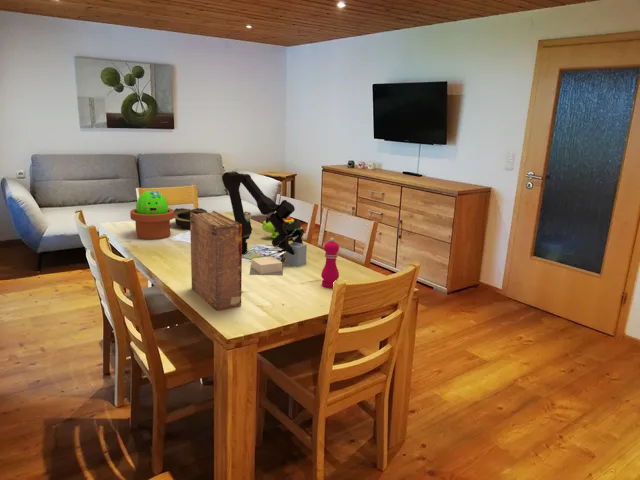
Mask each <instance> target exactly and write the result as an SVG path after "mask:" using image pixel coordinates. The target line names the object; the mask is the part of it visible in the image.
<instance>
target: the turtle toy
mask: <svg viewBox="0 0 640 480" xmlns="http://www.w3.org/2000/svg"><path fill="white" fill-rule="evenodd" d="M283 219H284V218H283ZM284 220H285V222H289V224H291V223H293V222H294V220H295V219H294V218H292V217H290V216H289V217H288V218H286V219H284ZM261 225H262V226H261V228H262V230H263V231H265V232H266V233H270V234H271V235H270V238H272V239H274V238H275V237H276V236H277V235H279V234H278V232H276V233H275V228H274V227H273V225H272V224H271V222H268V223H266V220H264V221H262V224H261ZM297 229H300V228H297ZM297 229H295V230H297ZM301 229H303V227H302V226H301ZM303 236H304V235H303ZM303 236H302V239H303ZM289 237H290V236H289Z"/></svg>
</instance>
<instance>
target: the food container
mask: <svg viewBox="0 0 640 480" xmlns="http://www.w3.org/2000/svg"><path fill="white" fill-rule="evenodd" d="M243 211H244V210H243ZM244 216H245V219H246V220H247V222H249V221H250V222H251V218H252V217H253V216H252V213H251V212H249V211H244Z"/></svg>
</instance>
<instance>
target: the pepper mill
mask: <svg viewBox="0 0 640 480" xmlns="http://www.w3.org/2000/svg"><path fill="white" fill-rule="evenodd" d="M323 250H324V252H325V253H324V258H325V265H324V267H323V269H321V270H322V271H321V276H320V277H321V278H322V281H321V286H322V287H324V288H329V289H333V288H332V287H333V282H334V281H335V280H336V281H338V279H339V278H340V271H339V269H338V267H337V258H338V252H339V250H340V245H339V244H338V242H336V241H335V238H334V237H330V238H329V241H327V242H326V243H324V246H323Z"/></svg>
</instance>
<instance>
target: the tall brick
mask: <svg viewBox="0 0 640 480" xmlns="http://www.w3.org/2000/svg"><path fill="white" fill-rule="evenodd" d="M289 244H290V246H291V248H292V250H293V251H294V255H292V254H290V253H288V252H287V251H285V264H286V265H288V266H292V267H296V268H299V267H302V266H305V265H306V264H307V251H308V250H307V248H308V244H306V243H303V244H301V243H297V242H294V243H293V242H291V243H289Z"/></svg>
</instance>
